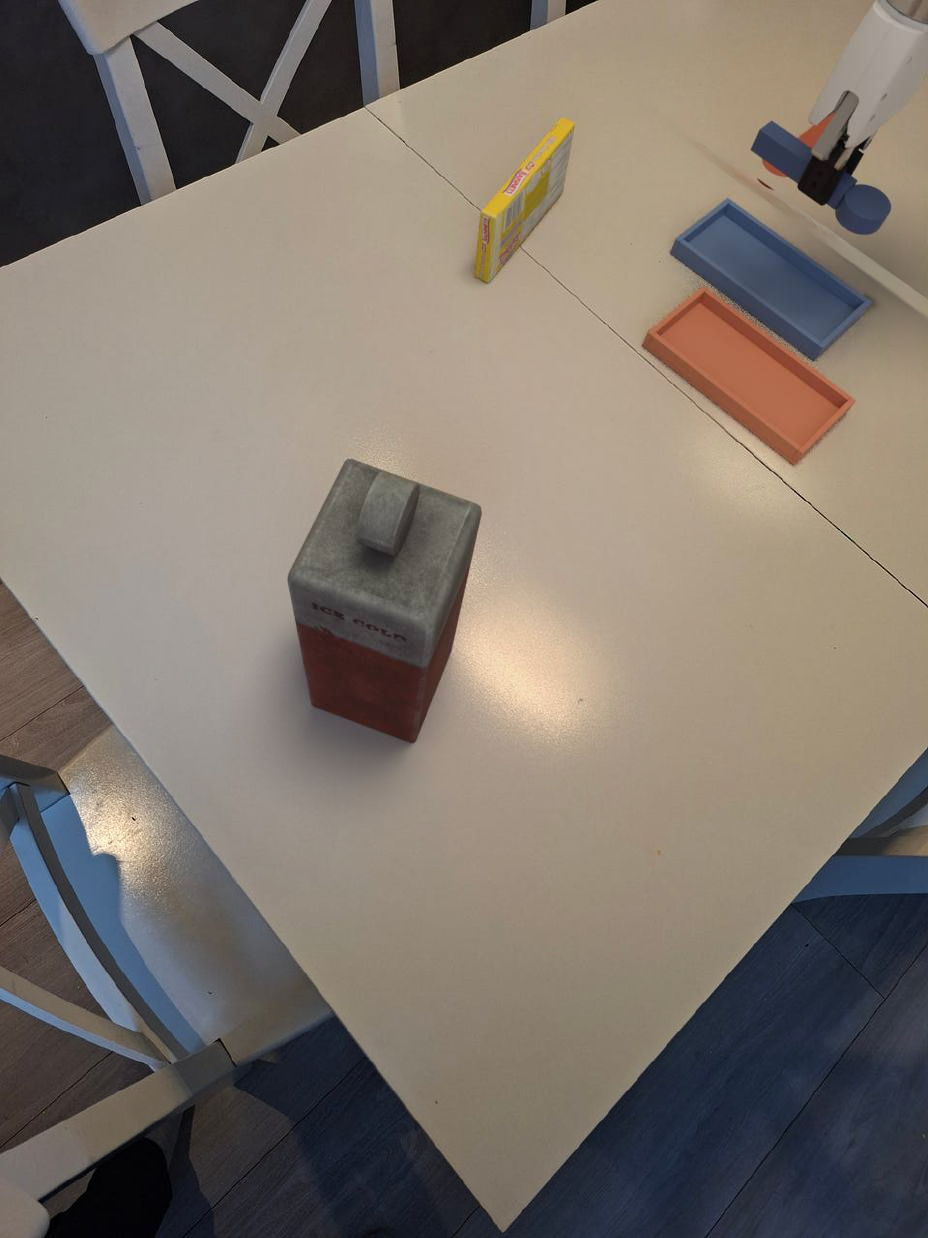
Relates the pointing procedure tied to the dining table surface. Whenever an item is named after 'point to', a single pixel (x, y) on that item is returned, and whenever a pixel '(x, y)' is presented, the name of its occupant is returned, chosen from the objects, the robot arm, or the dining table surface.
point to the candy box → (523, 200)
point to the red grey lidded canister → (381, 596)
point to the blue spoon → (851, 202)
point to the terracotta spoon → (807, 138)
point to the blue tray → (770, 278)
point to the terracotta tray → (748, 374)
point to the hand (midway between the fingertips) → (819, 188)
